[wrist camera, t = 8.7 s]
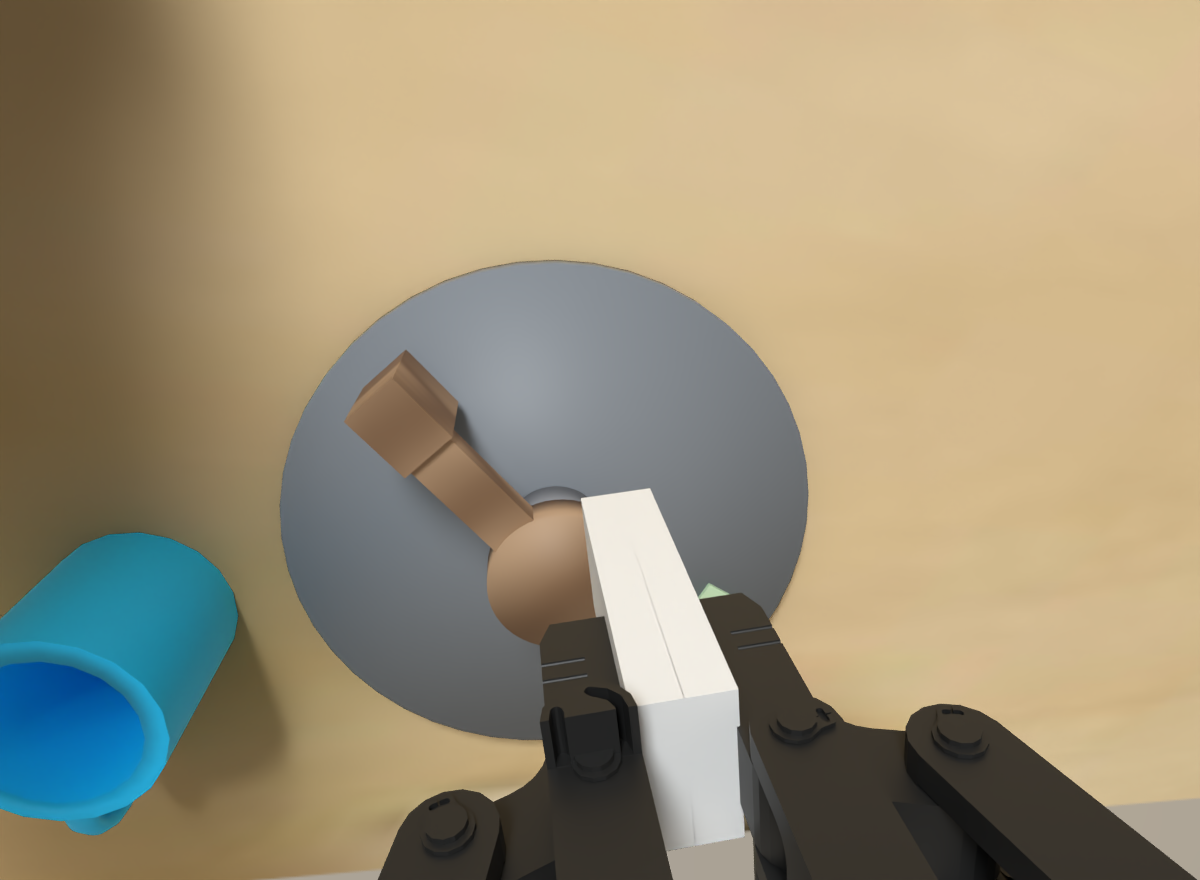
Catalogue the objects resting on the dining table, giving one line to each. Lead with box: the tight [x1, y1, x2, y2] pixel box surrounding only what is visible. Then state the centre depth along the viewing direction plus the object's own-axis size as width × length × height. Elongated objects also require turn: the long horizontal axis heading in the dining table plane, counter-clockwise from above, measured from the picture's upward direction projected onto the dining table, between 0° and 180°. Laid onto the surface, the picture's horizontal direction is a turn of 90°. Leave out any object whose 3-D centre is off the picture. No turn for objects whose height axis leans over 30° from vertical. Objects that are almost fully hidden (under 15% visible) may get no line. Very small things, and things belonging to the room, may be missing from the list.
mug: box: [0, 532, 238, 835], centre depth 33 cm, size 12×8×8 cm
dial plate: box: [280, 260, 808, 740], centre depth 35 cm, size 24×24×4 cm
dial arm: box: [344, 350, 596, 645], centre depth 33 cm, size 22×6×4 cm, turn 40°
